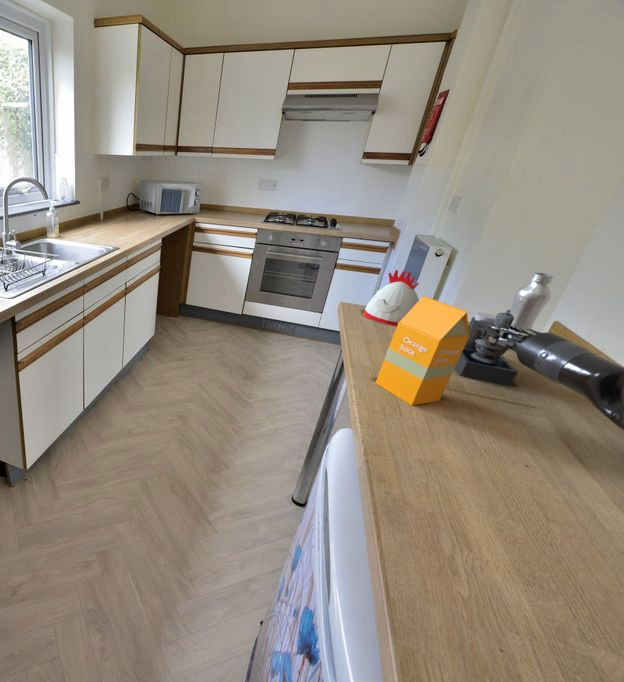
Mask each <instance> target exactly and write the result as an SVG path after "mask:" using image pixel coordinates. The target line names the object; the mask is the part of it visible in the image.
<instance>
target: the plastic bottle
mask: <svg viewBox="0 0 624 682" xmlns="http://www.w3.org/2000/svg"><path fill="white" fill-rule="evenodd" d="M553 279H554V275H552V274H549V273H544V272H533V274H532V277H530V279H529V280H530V281H529V282H527V283H526V284H524V285H523V286H520V287H519V288H518V289H517V290H516V293H515V295H514V299H513V301H512V305H511V307H510V309H509V310H510V312H509V313H510V314H511V315H513V316H514V320H513V322H512V324H511V325H512V326H514V327H520V328H522V329H524V330H527V329H532V330H533V327H534V324H535V322H536V320H537V318H538V317H539V315H540V314H541V311H542V310H543V309H544V308H545V306H546V305H547V304H548V302H549V301H550V300H551V295H552V294H551V290H550V287H549V285H550V284H552V281H553Z"/></svg>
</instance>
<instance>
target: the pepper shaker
mask: <svg viewBox="0 0 624 682" xmlns="http://www.w3.org/2000/svg"><path fill="white" fill-rule="evenodd" d="M496 316H497V315H493V314H491V313H486V312H476V314H475V316H472V317H471V319H470V322H468V330H469V338H468V340H467V343H466V345H465V347H464V348H466V349H471V350H476V347H475V345H476V342H475V340H477V339H482V338H481V337H480V336H481V334H482V331H480V330H478V329H477V325H478V323H479V321H480V320H485V321H487V322H489V323H491V324H493V322H494V320H495V318H496Z"/></svg>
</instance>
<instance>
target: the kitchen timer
mask: <svg viewBox="0 0 624 682" xmlns="http://www.w3.org/2000/svg"><path fill="white" fill-rule="evenodd" d="M405 273H406V271H405V270H403V271H401V273H400V275H399V270H398V269H396V270H394V273H393V275H392V272H389V273H388V281H389V283H388V284H386V285H384V286H383V287H381V288H380V289H378V290H376V292H375V293H374V295H373V296H372V298H371V299H370V301H368V303H367V304H366V305H365V308H364V311H363V316H364V318H366V319H367V320H370V319H371V320H373V321H376V322H378V323H382V324H385V325H388V326H394V327H397V325H398V323H399V322H400V321H401V320H402V319H403V318H404V317H405V316H406V314H407V313H408V312H409V311H410V310H411V309H412V308H413V307H414V306H415V305H416V303H417V302H418V301H419V300H420V299H419V295H418V293H417V291H416V290H415V288H416V287H418V286H419V284H420V282H417V283H415V284H414V285H413V283H414V281H415V279H416V277H411V271H409V272H407V274H406V275H405ZM410 277H411V279H410Z"/></svg>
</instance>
